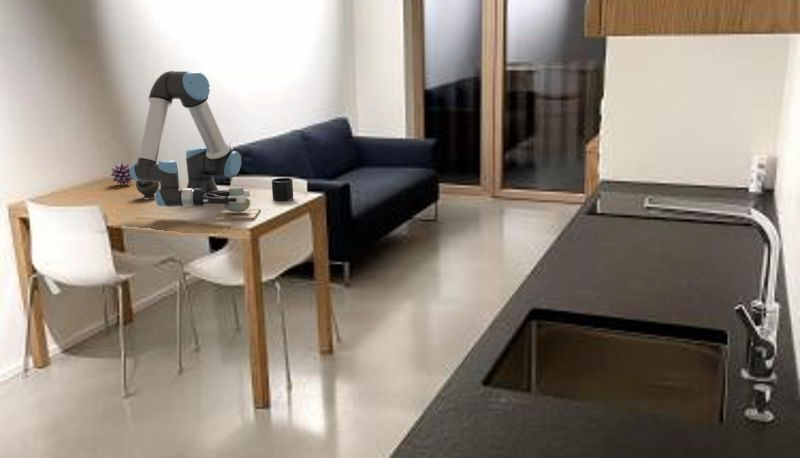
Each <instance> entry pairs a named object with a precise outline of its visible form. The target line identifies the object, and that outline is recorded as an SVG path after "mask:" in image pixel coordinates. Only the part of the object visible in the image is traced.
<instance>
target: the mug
mask: <svg viewBox="0 0 800 458" xmlns="http://www.w3.org/2000/svg"><path fill="white" fill-rule="evenodd" d="M293 184H294V183H293V179H292V178H289V177H279V178H278V177H277V178H274V179H272V180H271V191H272V192H271V193H272V194H271V195H272V200H273V201H275V202H288V200H289V201H291V199H292V200H293V199H294V186H293Z"/></svg>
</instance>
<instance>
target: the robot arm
mask: <svg viewBox="0 0 800 458" xmlns="http://www.w3.org/2000/svg"><path fill="white" fill-rule="evenodd" d="M209 95H210V82H209V80H208V78H207V77H206V75H204V73H203V72H199V71H194V70H188V71H181V70H180V71H179V70H177V71H176V70H169V71H166V72H163V73H162V74H161V75H159V77H157V79H156V80H155V82H154V83H153V85H152V87H151V90H150V92H149V96H148V101H149V103H150V104H149V107H148V112H147V116H146V121H145V126H144V130H143V135H142V139H141V144H140V145H141V146H140V148H139V154H138V158H137V162H134V163H132V164H131V165H130V166H131V167H130V170H129V172H130V176H131V178H132V179H131V180H133V179H134V181H137V180H138V181H148V182H159V187H160V188H158V190H157V191H156V193H155V196H156V197H155V198H154V199H155V202H156V205H157V206H159V207H167V208H170V207H171V208H173V207H186V208H190V207H194V206H195V207H204V206H205V204H212V205H214V204H216V205H224V204H226V205H229V203H245V197H247V198H250V197H251V196H250V190H246V189H245V190H244V189H243V190H244V196H230V195H229V189H221V190H219V188H218V187H217V184H216V182H215V178H214V176H216V177H218V176H219V177H226V178H228V177H235V176H236V175H238V173H239V172H240V169H241V167H242V156H241V153H239V152H238V151H235V150H234V151H233V149H232V146H231V145H230V144H229V143H227V142H226V141H225V140H224V139H225V138H224V136H223V133H221V130H220V128H219V126H218V124H217V121H216V118H215V116H214V114H213V112H212V110H211V108H210V105H209V103H208V99H209ZM174 100H180V102H181V105H182V107H183V108H185V109H187V110H188V112H189V114H190V116H191V117H192V120H193V123H194V124H195V126H196V128H197V131H198V133H199V135H200V137H201V139H202V142H203V143H204V146H200V147H199V146H198V147H194V148H190V149H188V150H187V151H186V152H185V162H186V171H187V180H188V181H187V186H186V187H185V188H180V181H179V180H180V179H179V169H178V163H177V161H176V160H174V159H162V160H160V161H158V156H159V151H160V148H161V144H162V143H161V142H162V138H163V134H164V130H165V129H164V128H165V125H166V121H167V120H166V119H167V116H168V111H169V108H170V107H171V106H172V104H173V101H174ZM157 161H158V163H157Z"/></svg>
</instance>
